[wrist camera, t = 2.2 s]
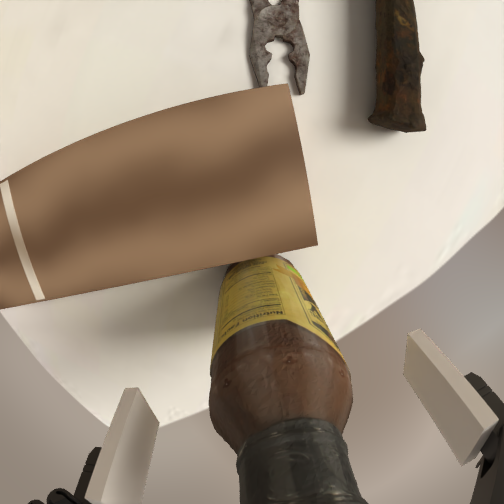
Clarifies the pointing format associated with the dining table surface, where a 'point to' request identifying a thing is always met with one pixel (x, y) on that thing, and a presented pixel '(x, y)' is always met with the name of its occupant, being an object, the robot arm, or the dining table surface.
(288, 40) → the pliers
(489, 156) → the dining table surface
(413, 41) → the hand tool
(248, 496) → the sauce bottle
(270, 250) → the walnut plank
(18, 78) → the dining table surface
